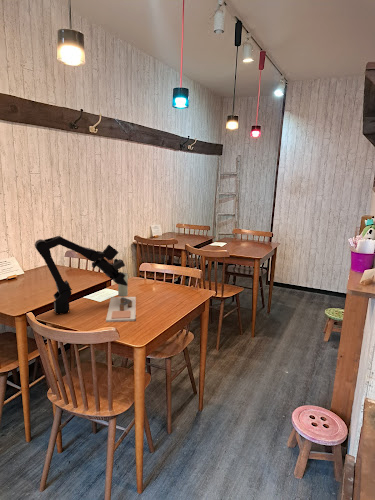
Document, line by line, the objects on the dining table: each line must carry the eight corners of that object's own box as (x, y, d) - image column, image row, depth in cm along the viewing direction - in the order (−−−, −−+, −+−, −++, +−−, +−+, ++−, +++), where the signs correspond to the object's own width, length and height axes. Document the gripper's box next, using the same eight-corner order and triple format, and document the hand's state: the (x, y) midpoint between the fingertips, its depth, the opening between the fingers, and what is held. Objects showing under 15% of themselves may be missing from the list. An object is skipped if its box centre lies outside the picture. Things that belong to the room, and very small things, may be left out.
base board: (135, 320, 166) (135, 318, 166) (105, 322, 164) (105, 320, 164) (135, 298, 199) (135, 296, 199) (111, 299, 197) (111, 297, 197)
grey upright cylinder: (120, 297, 188) (120, 275, 186) (116, 294, 192) (116, 273, 190) (129, 295, 191) (129, 274, 189) (125, 293, 195) (125, 272, 193)
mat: (130, 318, 167) (130, 317, 167) (111, 318, 165) (111, 317, 165) (130, 311, 175) (130, 310, 175) (112, 312, 174) (112, 311, 174)
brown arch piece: (120, 311, 175) (120, 304, 175) (112, 305, 184) (112, 298, 183) (134, 308, 180) (134, 301, 179) (126, 302, 189) (125, 296, 188)
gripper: (121, 258, 178) (141, 276, 185) (110, 252, 193) (129, 269, 201) (106, 275, 175) (127, 292, 183) (96, 267, 191) (116, 283, 198)
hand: (125, 283), depth 191 cm, fingers closed on grey upright cylinder, 5 cm apart
